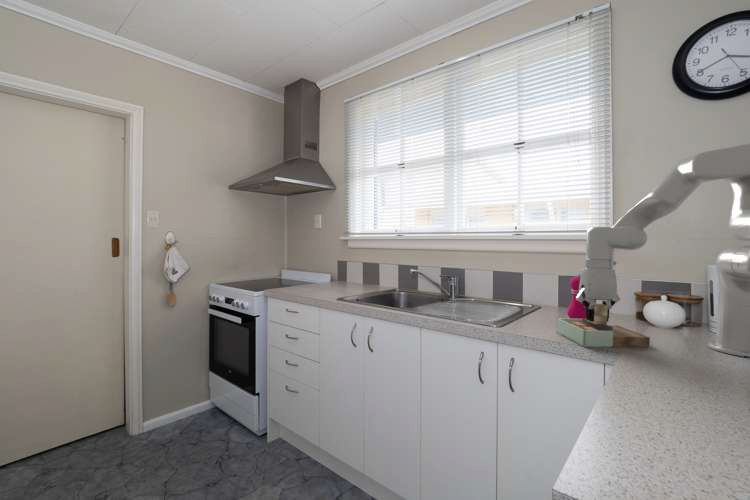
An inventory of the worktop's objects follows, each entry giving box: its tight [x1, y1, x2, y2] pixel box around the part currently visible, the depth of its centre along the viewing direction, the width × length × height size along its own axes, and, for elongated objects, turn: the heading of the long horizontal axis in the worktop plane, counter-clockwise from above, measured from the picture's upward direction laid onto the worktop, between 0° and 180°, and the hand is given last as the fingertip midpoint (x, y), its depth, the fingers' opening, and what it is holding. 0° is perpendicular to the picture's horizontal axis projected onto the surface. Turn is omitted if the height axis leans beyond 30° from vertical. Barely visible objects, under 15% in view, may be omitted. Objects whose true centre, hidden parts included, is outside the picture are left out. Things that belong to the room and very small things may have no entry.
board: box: [609, 325, 651, 348], centre depth 114 cm, size 12×14×3 cm
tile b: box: [572, 322, 586, 329], centre depth 117 cm, size 4×4×2 cm
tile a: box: [583, 327, 598, 331], centre depth 111 cm, size 4×4×2 cm
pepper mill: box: [566, 272, 586, 319], centre depth 132 cm, size 7×7×20 cm
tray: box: [556, 317, 613, 348], centre depth 114 cm, size 9×16×5 cm, turn 0°
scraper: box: [582, 302, 613, 331], centre depth 114 cm, size 4×11×8 cm, turn 0°
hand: (597, 320), depth 113 cm, fingers closed on scraper, 4 cm apart
